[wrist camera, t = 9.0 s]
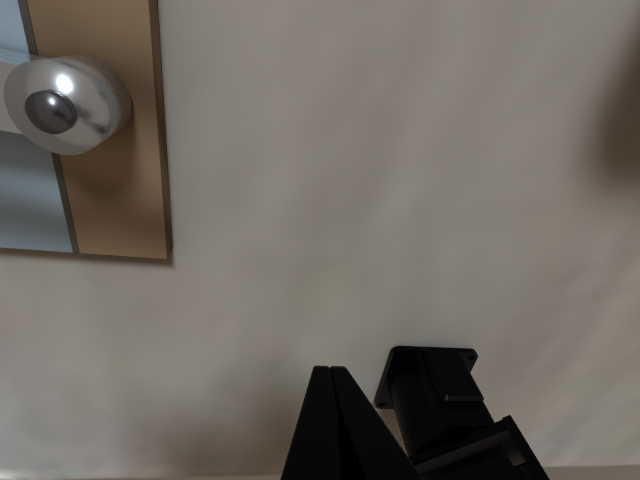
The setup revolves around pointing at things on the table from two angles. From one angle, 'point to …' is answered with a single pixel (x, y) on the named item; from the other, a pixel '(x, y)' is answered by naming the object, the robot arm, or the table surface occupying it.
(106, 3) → the door panel
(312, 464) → the robot arm
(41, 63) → the latch bar
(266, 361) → the table surface
